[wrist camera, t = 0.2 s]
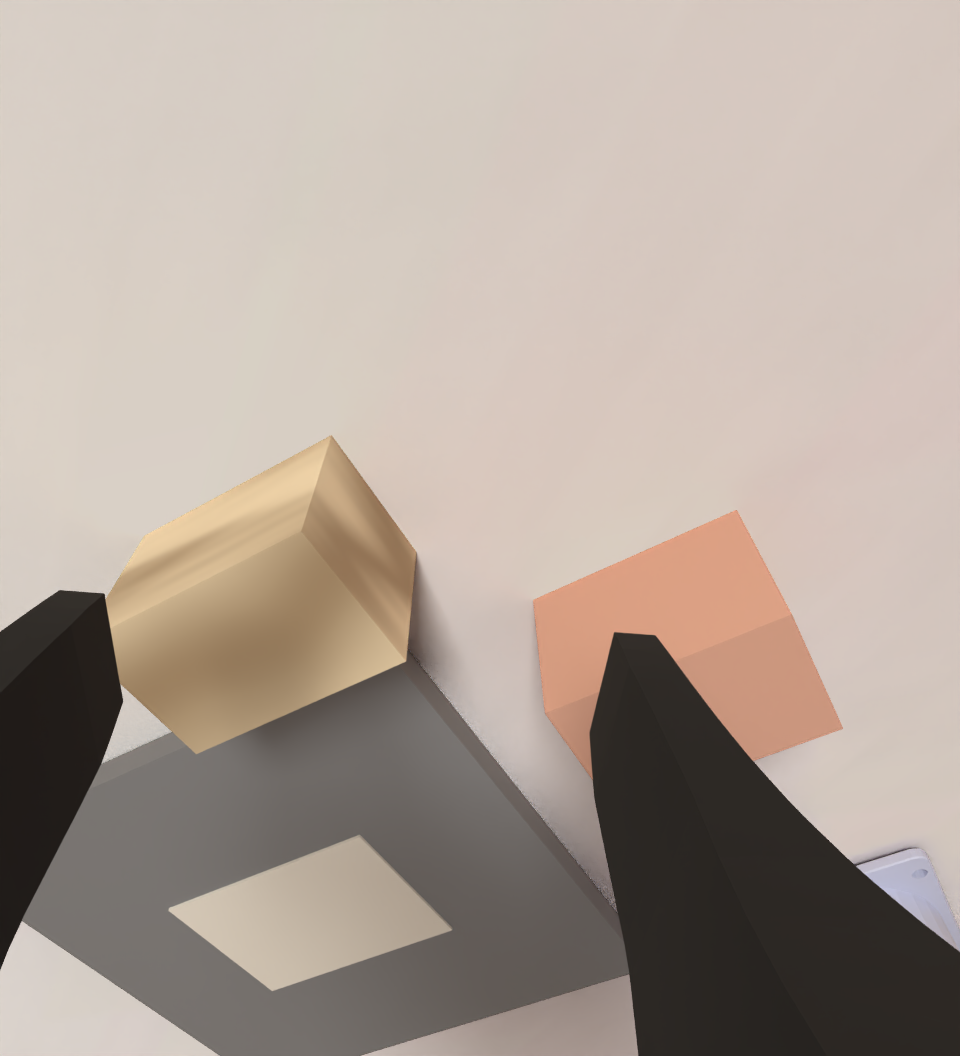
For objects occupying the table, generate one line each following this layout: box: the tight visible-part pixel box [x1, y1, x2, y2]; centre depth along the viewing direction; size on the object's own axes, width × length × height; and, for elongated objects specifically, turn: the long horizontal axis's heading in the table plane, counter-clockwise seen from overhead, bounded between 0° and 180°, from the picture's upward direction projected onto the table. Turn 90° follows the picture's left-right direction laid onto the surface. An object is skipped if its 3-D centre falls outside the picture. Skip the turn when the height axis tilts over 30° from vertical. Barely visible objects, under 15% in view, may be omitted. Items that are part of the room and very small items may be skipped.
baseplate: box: [22, 650, 629, 1056], centre depth 30 cm, size 18×18×1 cm
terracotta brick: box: [533, 510, 843, 780], centre depth 22 cm, size 4×6×4 cm, turn 119°
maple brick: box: [106, 435, 416, 754], centre depth 20 cm, size 4×6×4 cm, turn 119°
